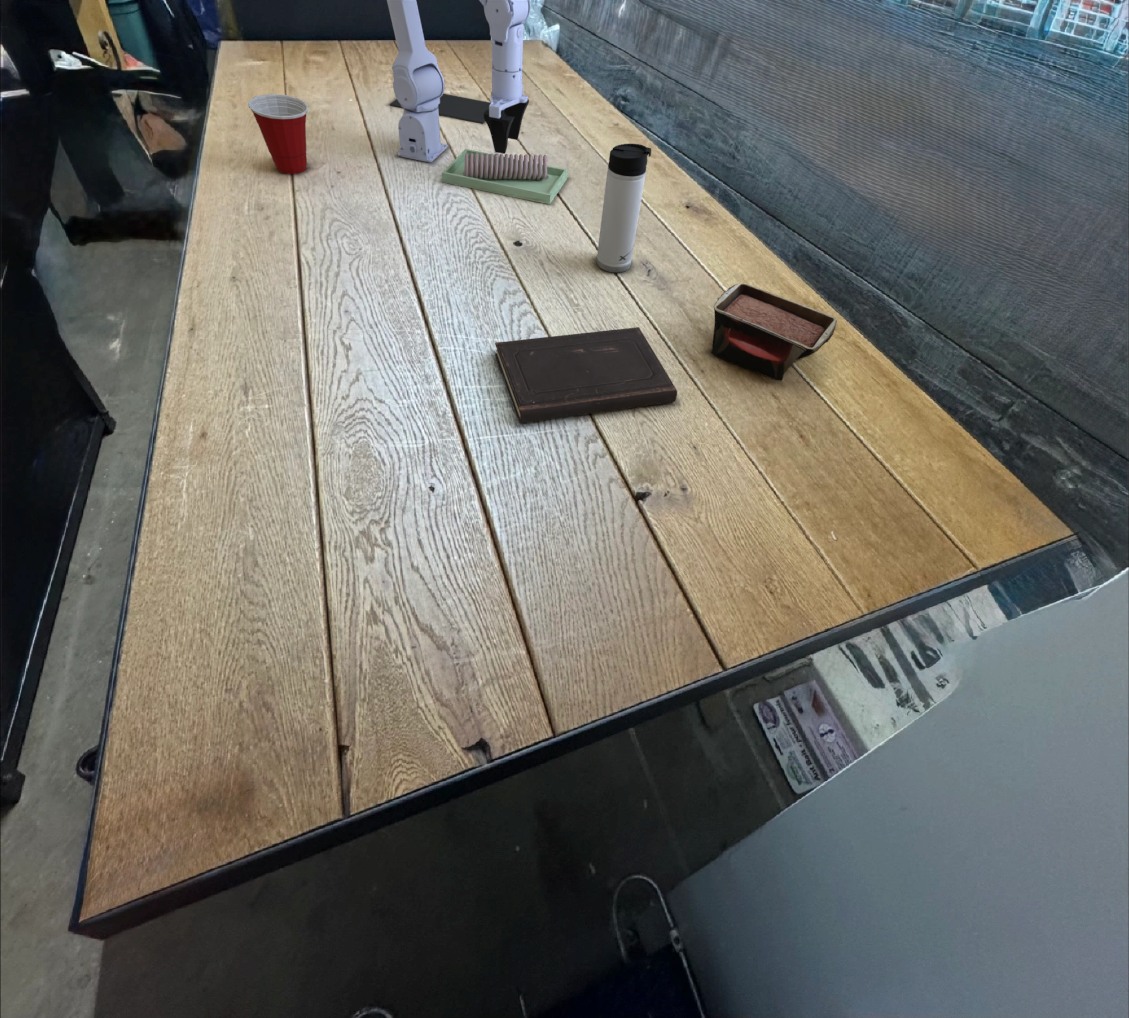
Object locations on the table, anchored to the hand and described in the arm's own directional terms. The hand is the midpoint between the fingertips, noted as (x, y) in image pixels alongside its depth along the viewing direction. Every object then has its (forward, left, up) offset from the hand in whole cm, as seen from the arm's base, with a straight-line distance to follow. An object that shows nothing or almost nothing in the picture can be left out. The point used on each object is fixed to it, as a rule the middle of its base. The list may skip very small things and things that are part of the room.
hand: (506, 145), depth 132 cm
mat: (+33, +27, -7) cm, 43 cm away
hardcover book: (-58, -32, -7) cm, 67 cm away
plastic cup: (-14, +41, -7) cm, 44 cm away
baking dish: (-41, -57, -7) cm, 71 cm away
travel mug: (-24, -29, -7) cm, 38 cm away
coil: (0, 0, -7) cm, 7 cm away
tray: (0, 0, -7) cm, 7 cm away
